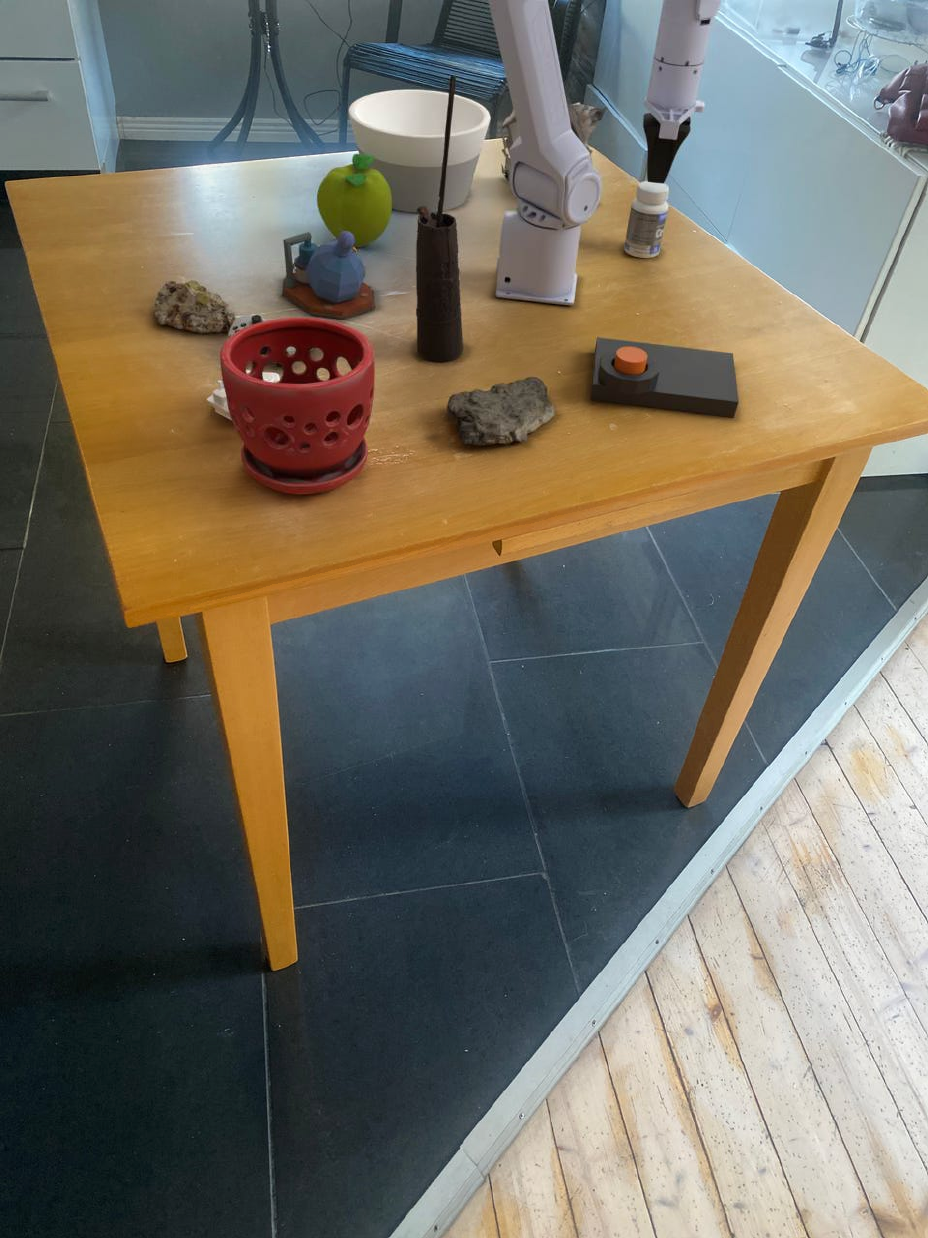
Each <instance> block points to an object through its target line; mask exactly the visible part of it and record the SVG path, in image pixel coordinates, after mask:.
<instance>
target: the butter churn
mask: <svg viewBox="0 0 928 1238" xmlns="http://www.w3.org/2000/svg"><path fill="white" fill-rule="evenodd" d="M456 81H457V77H456V76H455V75H453V74H452V75H451V76H450V80H449V89H448V93H449V99H448V108H447V116H446V117H447V118H446V127H445V142H444V155H443V163H442V173H441V181H440V190H439V197H440V199H439V202H438V211H437V212H431V213H429V212H428V210H427V207H426V206H421V207H419V208H417V212H418V213H417V214H418V216H417V227H416V228H417V229H416V242H415V278H416V279H415V280H416V281H415V282H416V283H415V284H416V285H415V286H416V309H415V315H416V350H417V353H418V355H419V356H420V357H421V358H422V359H424V360H427V361H428V362H429V361H430V362H433V363H446V362H447V363H448V362H451V361H453V360H457V359H459V358H460V357H461V355H462V354H463V352H464V338H463V337H464V336H463V321H462V307H461V289H460V285H461V281H460V275H461V272H460V271H461V270H460V267H459V240H458V230H457V229H458V228H457V227H458V223H457V219H456V217H455V216H453V215H451V214H449V213H444V211H443V204H444V194H445V181H446V169H447V160H448V150H449V141H450V132H451V121H452V112H453V102H454V95H455V91H456Z"/></svg>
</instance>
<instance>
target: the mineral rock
mask: <svg viewBox="0 0 928 1238" xmlns="http://www.w3.org/2000/svg"><path fill="white" fill-rule="evenodd" d="M156 295H157V296H156V299H155V300H156V301H155V302H154V317H156V318H157V322H158V323H159V324H160V325H167V326H171V327H173V328H176V329H177V330H189V331H191V332H195V333H198V334H205V333H213V332H214V333H221V332H226V333H229V330H230V328H231V326H232V324H233V322H234V321H235V320H236V317H235V316H236V313H235V312H234V311H233V310H231V308H230V305H229V304H228V303H227V302H226V301H224V300H223V298H222V297H221V295H219V294H218V293H214V292H211V291H210V290H207V287H205V286H204V285H201V284H200V283H199V281H197V280H191V279H190V280H188V281H185V282H176V281H175V280H168V281H167V280H166V281H164V284H163V286H162V288H160V290H158V291H157V294H156Z"/></svg>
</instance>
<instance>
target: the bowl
mask: <svg viewBox="0 0 928 1238" xmlns="http://www.w3.org/2000/svg"><path fill="white" fill-rule="evenodd" d="M448 99H449V92H444V91H438V90H437V91H436V90H430V89H429V90H428V89H394V90H385V91H380V92H374V93H371V94H367V95H364V96H362V97H360V98H357V99H355V100H354V101H353V102H352V103H351V104H350V106H349V107H348V118H349V121H350V125H351V129H352V133H353V137H354V141H355V145H356V147H357V151H358V154H364V155H373V156H375V158H374V160H373V161H372V163H371V164H370V165H369V166H368V167H367V168H370V169H375V170H377V171H378V172H380V173H381V174H382V176H383V177H384V178H385V180H386V181H387V183H388V185H389V188H390V191H391V196H392V210H396V211H400V212H405V213H413V214H414V213H416V214H419V213H418V212H417V208H419V207H421V206H426V207H427V210H428V212H429V213H430V214H431V213H437V211H438V202H439V199H440V197H439V190H440V181H441V173H442V163H443V155H444V142H445V127H446V118H447V117H446V116H447V108H448ZM490 122H491V114H490V111H489V110H488V109H487V108H486V107H485V106H484V105H482V104H480V103H479V102H477V101H475V100H473V99H470V98H468V97H464V96H460V95H457V94H454V102H453V112H452V121H451V132H450V141H449V150H448V160H447V169H446V181H445V194H444V204H443V212H446V211H449V210H453V209H456V208H457V207H460V206H461V205H463V204H464V203H465V202H466V201H467V199H468V195H469V192H470V188H471V186H472V182H473V179H474V176H475V173H476V168H477V165H478V163H479V160H480V155H481V152H482V150H483V146H484V143H485V140H486V136H487V133H488V129H489V126H490Z"/></svg>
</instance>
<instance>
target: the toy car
mask: <svg viewBox="0 0 928 1238" xmlns="http://www.w3.org/2000/svg"><path fill="white" fill-rule="evenodd" d="M250 372H251V369H250V370H249V369H246V373H247V374H249V373H250ZM220 379H221V380H220ZM220 379H219V380H216V383H218V388H215V389H214V390H213V391H212V392H211V394H210V396H209V397H207V398H206V401H207V402H208V403H209V404H211V406H212V407H213V408H214V412H215V413H217V414H219V415H221V416H223V417H224V418H227V420H230V421H232V419H231V416H230V413H229V410H228V404H227V398H226V393H225V389H224V384H223V380H222V375H220ZM280 379H281V377H280V375H279V374H278V373H276V372H264V371H263V380H264V381H268V382H273V383H276V382H278V381H279V380H280Z"/></svg>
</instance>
